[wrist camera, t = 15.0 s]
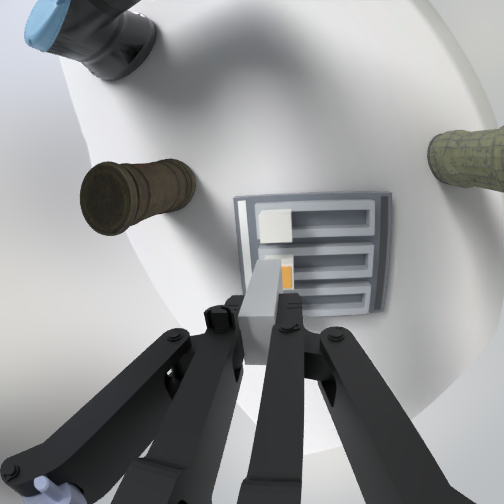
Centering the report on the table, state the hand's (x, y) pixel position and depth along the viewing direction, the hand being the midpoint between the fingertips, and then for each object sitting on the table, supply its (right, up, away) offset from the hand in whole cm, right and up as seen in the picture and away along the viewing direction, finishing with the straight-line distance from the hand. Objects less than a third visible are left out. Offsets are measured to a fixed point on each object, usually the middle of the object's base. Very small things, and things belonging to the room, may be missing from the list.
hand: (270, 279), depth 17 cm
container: (-15, +13, +26) cm, 33 cm away
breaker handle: (+3, 0, +25) cm, 25 cm away
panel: (+9, +1, +26) cm, 27 cm away
